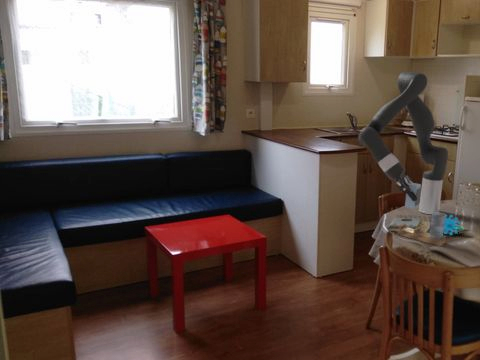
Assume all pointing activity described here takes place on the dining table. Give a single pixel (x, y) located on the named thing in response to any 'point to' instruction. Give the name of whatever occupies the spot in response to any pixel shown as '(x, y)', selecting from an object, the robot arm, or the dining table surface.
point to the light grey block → (416, 190)
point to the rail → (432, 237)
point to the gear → (452, 225)
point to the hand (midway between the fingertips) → (417, 198)
